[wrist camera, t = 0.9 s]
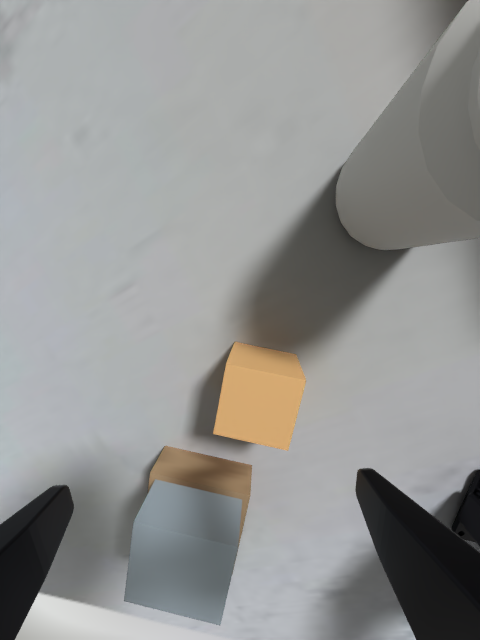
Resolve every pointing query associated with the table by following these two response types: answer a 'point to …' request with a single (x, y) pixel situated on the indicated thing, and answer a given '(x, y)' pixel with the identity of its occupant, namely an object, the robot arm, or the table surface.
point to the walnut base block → (204, 475)
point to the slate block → (183, 551)
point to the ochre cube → (260, 396)
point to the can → (422, 152)
